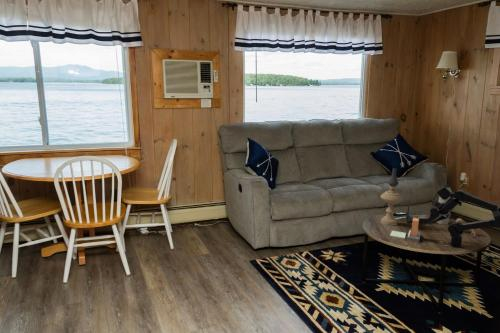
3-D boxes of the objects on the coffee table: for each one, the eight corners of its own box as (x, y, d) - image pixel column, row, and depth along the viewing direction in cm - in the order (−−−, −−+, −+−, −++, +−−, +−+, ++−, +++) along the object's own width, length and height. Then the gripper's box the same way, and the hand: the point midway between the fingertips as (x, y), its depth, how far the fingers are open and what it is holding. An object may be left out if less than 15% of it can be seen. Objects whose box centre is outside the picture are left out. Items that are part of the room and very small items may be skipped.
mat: (406, 233, 252) (406, 233, 252) (404, 238, 244) (404, 237, 243) (391, 231, 256) (391, 230, 256) (390, 236, 247) (390, 235, 247)
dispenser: (420, 235, 250) (420, 231, 249) (419, 242, 238) (419, 238, 238) (408, 233, 253) (409, 229, 252) (406, 240, 242) (407, 236, 241)
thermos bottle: (442, 220, 281) (447, 183, 276) (450, 224, 274) (455, 186, 268) (433, 221, 279) (438, 184, 273) (441, 225, 271) (446, 187, 266)
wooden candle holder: (403, 226, 265) (409, 171, 258) (382, 226, 265) (388, 170, 257) (395, 219, 280) (401, 166, 272) (375, 219, 280) (380, 166, 272)
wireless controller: (423, 217, 288) (426, 196, 284) (435, 224, 274) (438, 201, 271) (399, 218, 285) (401, 196, 282) (409, 224, 271) (412, 201, 268)
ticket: (416, 236, 247) (419, 218, 245) (416, 239, 243) (418, 221, 240) (411, 235, 249) (413, 217, 246) (410, 238, 244) (412, 220, 242)
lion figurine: (453, 231, 260) (455, 218, 258) (455, 229, 264) (457, 216, 262) (478, 236, 250) (480, 224, 249) (479, 234, 254) (481, 222, 253)
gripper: (446, 196, 246) (428, 212, 253) (433, 195, 233) (415, 211, 241) (458, 209, 239) (440, 225, 246) (446, 208, 227) (427, 225, 234)
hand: (430, 221), depth 242 cm, fingers open, 9 cm apart
